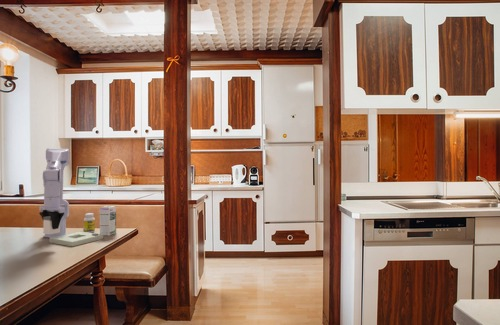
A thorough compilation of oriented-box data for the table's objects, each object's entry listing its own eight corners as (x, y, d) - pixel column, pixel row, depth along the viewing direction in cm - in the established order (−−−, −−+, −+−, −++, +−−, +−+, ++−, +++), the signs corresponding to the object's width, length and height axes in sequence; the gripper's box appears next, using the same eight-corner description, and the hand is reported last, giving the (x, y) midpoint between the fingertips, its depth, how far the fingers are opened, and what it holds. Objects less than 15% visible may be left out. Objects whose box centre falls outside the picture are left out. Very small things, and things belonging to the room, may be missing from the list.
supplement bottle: (87, 233, 165) (87, 214, 165) (81, 232, 168) (81, 213, 168) (96, 231, 169) (97, 213, 169) (91, 230, 172) (91, 212, 172)
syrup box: (109, 235, 160) (109, 207, 160) (99, 235, 162) (99, 206, 162) (116, 233, 166) (116, 205, 166) (106, 232, 167) (106, 205, 167)
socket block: (49, 242, 146) (49, 236, 146) (80, 235, 161) (81, 230, 161) (72, 246, 139) (72, 240, 139) (102, 238, 154) (103, 233, 154)
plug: (43, 233, 135) (43, 216, 135) (53, 231, 139) (53, 215, 139) (49, 234, 133) (49, 217, 133) (60, 232, 137) (60, 216, 137)
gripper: (32, 196, 136) (31, 228, 136) (53, 198, 129) (53, 231, 129) (48, 195, 142) (48, 225, 142) (69, 197, 136) (69, 228, 136)
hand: (51, 228), depth 136 cm, fingers closed on plug, 4 cm apart
